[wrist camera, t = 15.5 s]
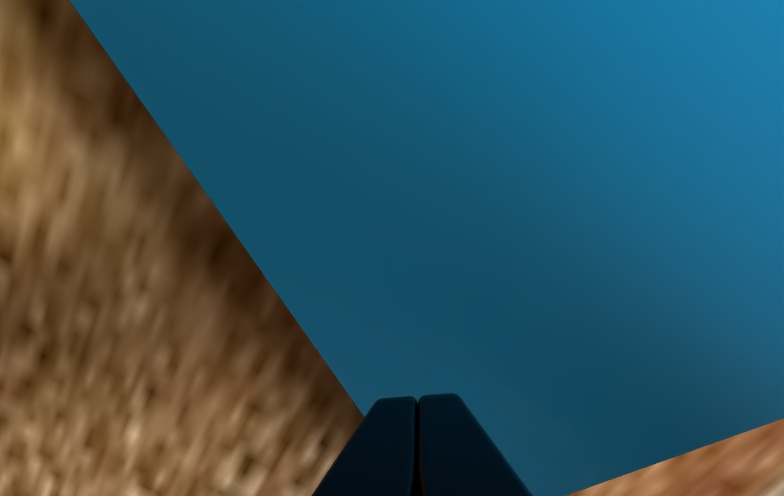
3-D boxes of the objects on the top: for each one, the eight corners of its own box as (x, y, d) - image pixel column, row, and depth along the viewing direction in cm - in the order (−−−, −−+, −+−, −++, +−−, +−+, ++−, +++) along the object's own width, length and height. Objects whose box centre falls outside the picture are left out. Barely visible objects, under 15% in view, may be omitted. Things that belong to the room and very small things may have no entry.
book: (452, 541, 22) (-230, -376, 12) (445, 442, 26) (-75, -316, 16) (1064, 321, 18) (832, -1386, 8) (947, 241, 22) (689, -969, 11)
